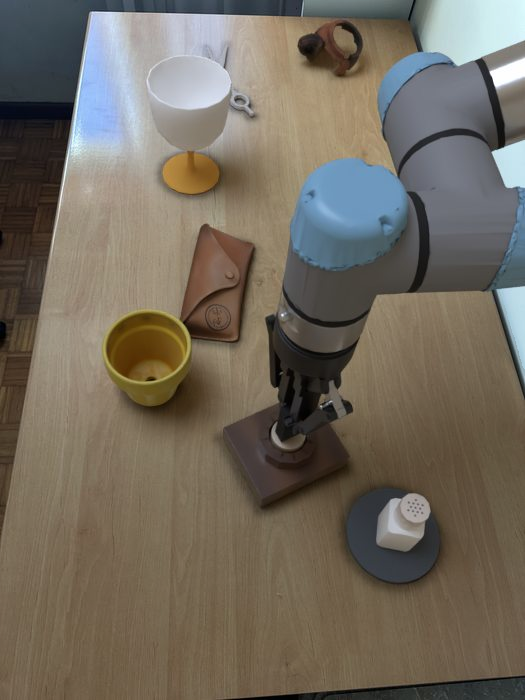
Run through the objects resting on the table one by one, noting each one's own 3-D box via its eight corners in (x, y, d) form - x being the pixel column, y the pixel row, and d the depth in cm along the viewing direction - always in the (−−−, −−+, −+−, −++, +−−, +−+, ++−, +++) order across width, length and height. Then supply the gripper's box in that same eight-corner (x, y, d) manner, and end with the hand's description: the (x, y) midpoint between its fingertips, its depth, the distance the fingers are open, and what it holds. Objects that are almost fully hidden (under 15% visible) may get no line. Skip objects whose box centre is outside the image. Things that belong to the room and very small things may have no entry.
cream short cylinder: (293, 419, 80) (295, 412, 79) (309, 447, 79) (311, 440, 77) (264, 433, 79) (265, 425, 78) (280, 461, 78) (282, 454, 76)
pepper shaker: (408, 553, 76) (433, 530, 68) (374, 547, 76) (395, 522, 68) (410, 520, 78) (435, 493, 70) (377, 513, 78) (397, 485, 70)
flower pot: (196, 415, 84) (196, 378, 75) (113, 425, 82) (103, 388, 74) (188, 346, 89) (186, 304, 80) (109, 354, 87) (99, 311, 79)
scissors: (191, 113, 111) (187, 38, 121) (191, 116, 112) (187, 42, 122) (253, 113, 113) (245, 40, 123) (253, 117, 113) (245, 43, 123)
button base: (305, 399, 86) (310, 381, 82) (345, 465, 82) (353, 449, 77) (222, 437, 82) (223, 420, 78) (259, 508, 78) (263, 494, 74)
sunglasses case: (241, 342, 89) (217, 314, 84) (197, 350, 92) (171, 324, 87) (256, 240, 98) (235, 210, 94) (215, 250, 101) (192, 222, 97)
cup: (212, 210, 102) (214, 119, 87) (141, 187, 103) (131, 95, 88) (238, 160, 108) (244, 67, 93) (171, 139, 109) (166, 45, 94)
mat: (439, 498, 80) (440, 496, 80) (437, 591, 75) (439, 590, 74) (349, 482, 81) (350, 480, 80) (341, 574, 75) (342, 573, 74)
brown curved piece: (333, 40, 127) (359, 14, 120) (346, 87, 127) (373, 63, 120) (281, 37, 121) (305, 10, 114) (294, 86, 121) (319, 62, 114)
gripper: (246, 278, 59) (234, 399, 79) (321, 397, 53) (287, 494, 73) (318, 251, 61) (288, 375, 81) (397, 362, 55) (344, 466, 75)
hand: (288, 432), depth 77 cm, fingers closed
